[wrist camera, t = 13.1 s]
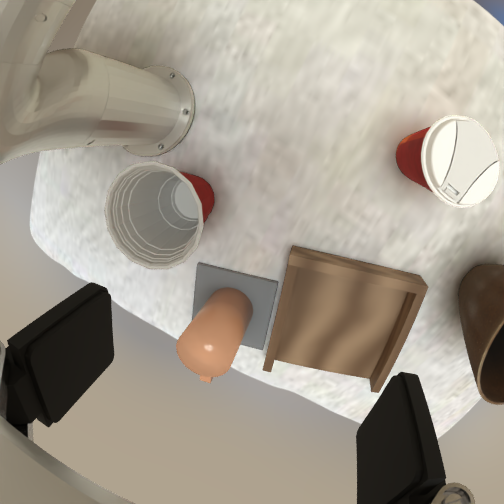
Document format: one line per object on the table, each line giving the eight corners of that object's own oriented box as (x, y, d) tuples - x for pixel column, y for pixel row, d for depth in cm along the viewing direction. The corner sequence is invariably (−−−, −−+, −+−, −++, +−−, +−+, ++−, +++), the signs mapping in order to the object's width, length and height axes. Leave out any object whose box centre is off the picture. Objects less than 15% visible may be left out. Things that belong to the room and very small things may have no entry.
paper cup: (425, 201, 33) (477, 229, 20) (375, 166, 33) (409, 173, 20) (454, 150, 30) (516, 153, 17) (406, 112, 30) (452, 92, 17)
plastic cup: (210, 254, 41) (171, 293, 30) (147, 212, 41) (92, 234, 30) (252, 185, 37) (222, 199, 26) (181, 142, 37) (128, 141, 26)
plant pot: (415, 286, 36) (457, 358, 21) (492, 214, 31) (565, 251, 16) (459, 350, 37) (495, 422, 22) (526, 288, 32) (582, 341, 17)
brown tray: (266, 355, 44) (262, 370, 41) (292, 245, 38) (289, 254, 35) (376, 377, 41) (378, 392, 38) (420, 275, 36) (428, 286, 32)
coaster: (192, 328, 45) (191, 330, 45) (198, 262, 42) (197, 263, 41) (263, 347, 44) (262, 350, 43) (278, 281, 40) (277, 283, 39)
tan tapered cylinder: (211, 282, 41) (177, 323, 31) (256, 293, 40) (235, 340, 30) (204, 337, 45) (175, 383, 34) (245, 348, 44) (225, 399, 33)
